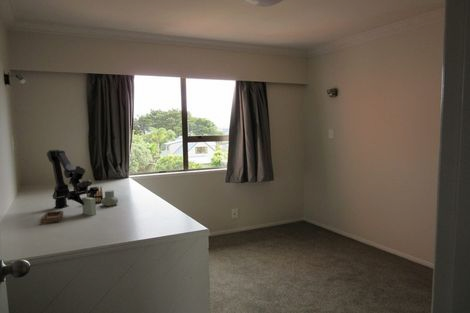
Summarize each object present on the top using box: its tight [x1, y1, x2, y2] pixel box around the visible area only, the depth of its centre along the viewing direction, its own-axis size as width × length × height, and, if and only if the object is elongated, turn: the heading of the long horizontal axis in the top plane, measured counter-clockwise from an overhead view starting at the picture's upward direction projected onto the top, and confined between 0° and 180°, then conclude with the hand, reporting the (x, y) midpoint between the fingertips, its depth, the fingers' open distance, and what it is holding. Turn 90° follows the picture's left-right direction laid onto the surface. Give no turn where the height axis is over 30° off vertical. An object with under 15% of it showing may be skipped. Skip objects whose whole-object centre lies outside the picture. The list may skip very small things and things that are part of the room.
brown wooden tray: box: [40, 210, 64, 225], centre depth 192 cm, size 16×9×3 cm, turn 20°
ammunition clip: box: [86, 186, 104, 204], centre depth 234 cm, size 11×2×12 cm, turn 114°
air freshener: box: [100, 189, 119, 207], centre depth 227 cm, size 11×8×10 cm
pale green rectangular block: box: [81, 196, 97, 216], centre depth 204 cm, size 9×3×10 cm, turn 57°
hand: (89, 203), depth 204 cm, fingers open, 7 cm apart
